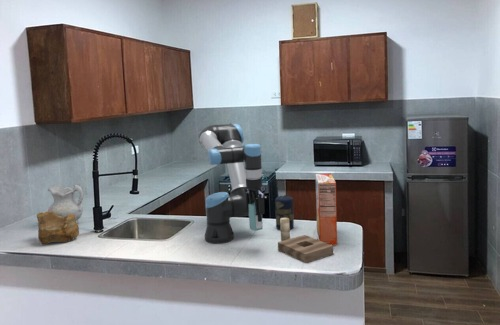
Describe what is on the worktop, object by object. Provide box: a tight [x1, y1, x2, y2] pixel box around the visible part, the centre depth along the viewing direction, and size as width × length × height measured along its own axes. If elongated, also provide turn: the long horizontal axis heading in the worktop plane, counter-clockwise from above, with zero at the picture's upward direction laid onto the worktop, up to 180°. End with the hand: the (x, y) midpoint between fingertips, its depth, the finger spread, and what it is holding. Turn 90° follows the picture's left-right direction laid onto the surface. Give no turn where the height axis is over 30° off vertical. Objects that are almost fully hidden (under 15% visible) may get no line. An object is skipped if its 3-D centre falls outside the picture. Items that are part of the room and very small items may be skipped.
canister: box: [274, 194, 295, 230], centre depth 243 cm, size 10×10×18 cm
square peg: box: [248, 203, 264, 232], centre depth 211 cm, size 4×4×12 cm
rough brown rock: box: [36, 210, 80, 245], centre depth 240 cm, size 23×17×15 cm
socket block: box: [277, 234, 334, 264], centre depth 207 cm, size 20×16×4 cm
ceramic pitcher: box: [47, 184, 84, 225], centre depth 269 cm, size 22×20×25 cm
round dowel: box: [280, 218, 291, 241], centre depth 220 cm, size 4×4×12 cm
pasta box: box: [315, 173, 338, 246], centre depth 225 cm, size 23×8×30 cm, turn 175°
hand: (256, 226), depth 212 cm, fingers closed on square peg, 4 cm apart
